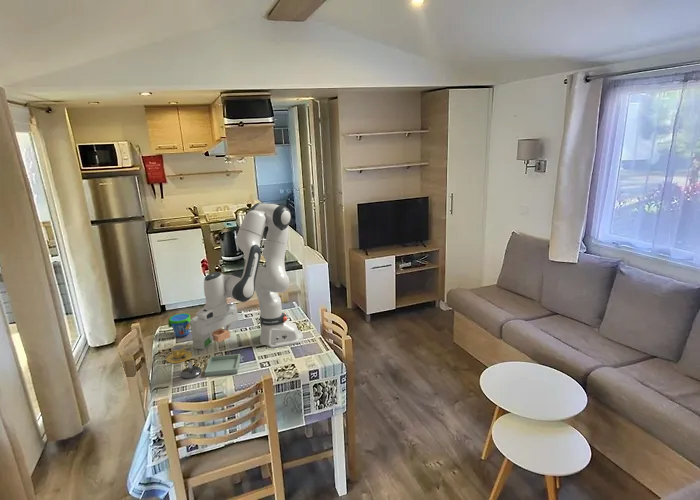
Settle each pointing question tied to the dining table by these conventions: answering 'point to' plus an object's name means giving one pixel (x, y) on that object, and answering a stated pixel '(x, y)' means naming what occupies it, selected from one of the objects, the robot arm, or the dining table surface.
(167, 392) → the dining table surface
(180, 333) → the snack cup
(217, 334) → the orange hollow square block
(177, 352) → the cup
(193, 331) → the grey tall box
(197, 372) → the silver knobbed lid
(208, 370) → the tray
